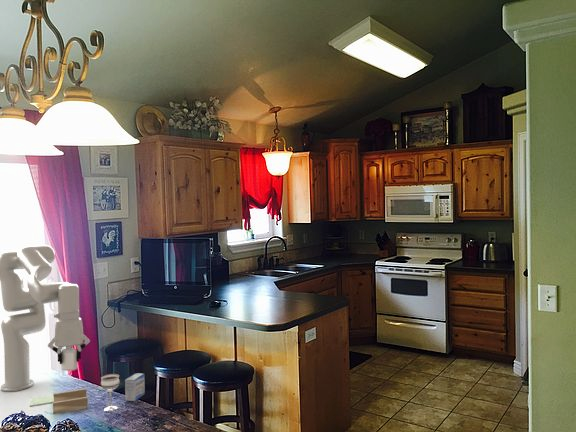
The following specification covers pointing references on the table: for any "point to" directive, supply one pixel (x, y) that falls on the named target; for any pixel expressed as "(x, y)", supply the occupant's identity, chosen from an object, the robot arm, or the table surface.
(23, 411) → the table surface
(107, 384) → the wineglass
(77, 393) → the maple channel
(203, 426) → the table surface
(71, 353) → the eye dropper bottle
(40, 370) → the table surface
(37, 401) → the sage mat
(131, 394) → the medicine box
